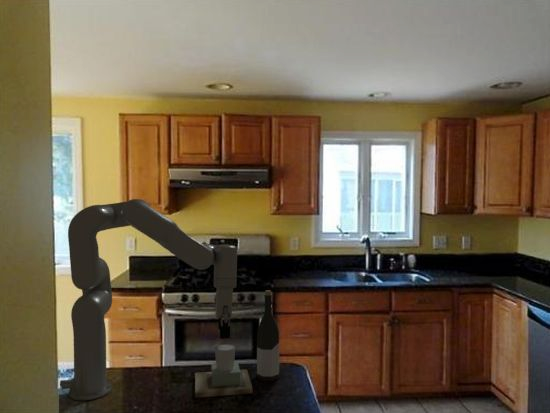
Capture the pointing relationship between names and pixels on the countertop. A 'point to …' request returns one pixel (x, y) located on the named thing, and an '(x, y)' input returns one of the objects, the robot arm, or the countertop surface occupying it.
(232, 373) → the sage block
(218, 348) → the grey tapered cup
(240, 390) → the board
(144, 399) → the countertop surface
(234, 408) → the countertop surface
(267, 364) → the wine bottle
